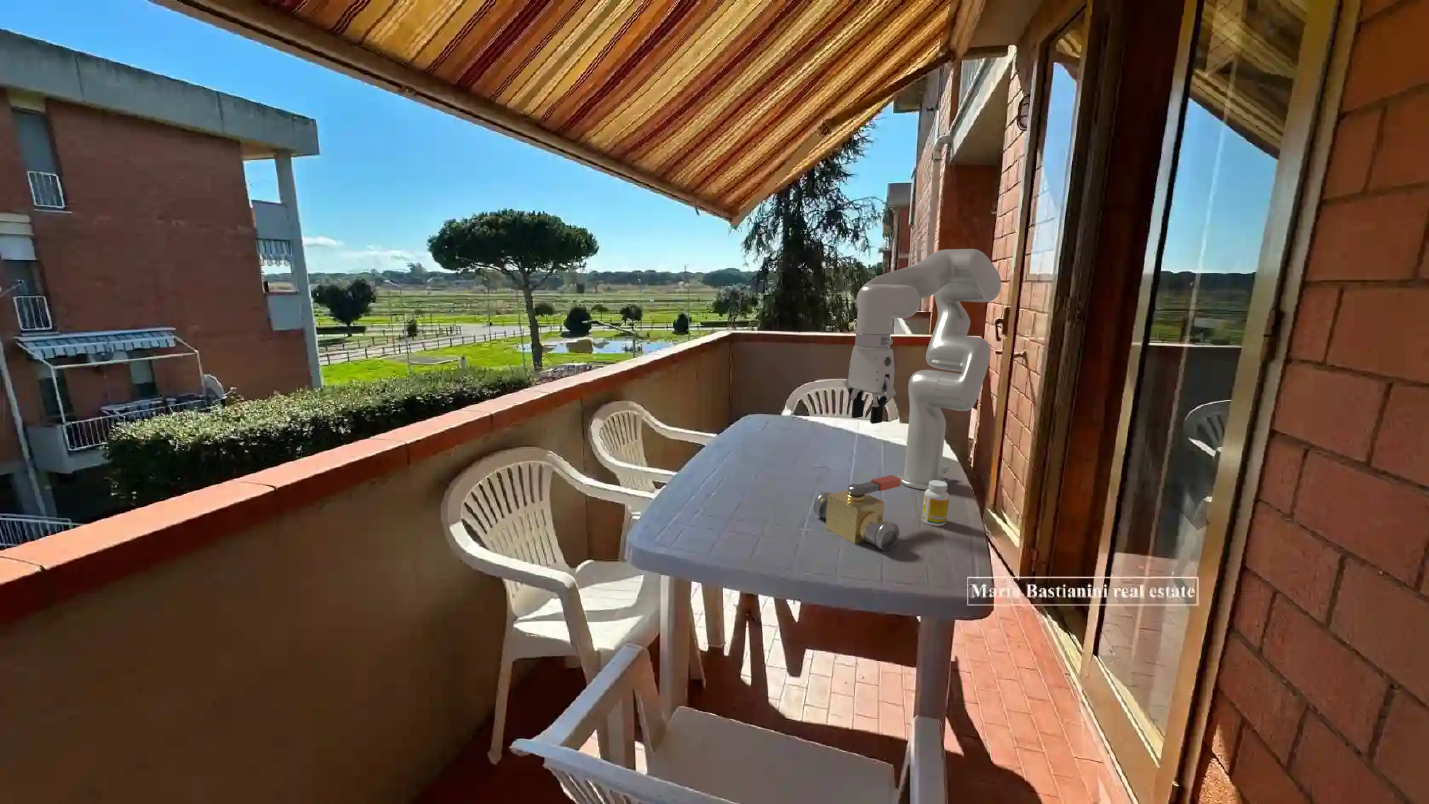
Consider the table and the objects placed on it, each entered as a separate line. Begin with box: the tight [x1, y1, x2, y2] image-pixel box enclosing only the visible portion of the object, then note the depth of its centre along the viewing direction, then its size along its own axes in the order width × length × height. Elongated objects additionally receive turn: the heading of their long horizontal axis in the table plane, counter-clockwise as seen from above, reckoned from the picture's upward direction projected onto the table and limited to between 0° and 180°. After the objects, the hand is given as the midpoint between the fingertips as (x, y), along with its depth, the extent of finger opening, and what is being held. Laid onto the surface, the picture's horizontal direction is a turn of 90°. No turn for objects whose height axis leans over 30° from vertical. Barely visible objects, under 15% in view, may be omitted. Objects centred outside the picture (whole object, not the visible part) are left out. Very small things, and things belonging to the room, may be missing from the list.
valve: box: [813, 489, 900, 552], centre depth 125 cm, size 20×8×9 cm, turn 31°
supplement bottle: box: [921, 480, 950, 527], centre depth 131 cm, size 5×5×10 cm
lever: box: [847, 474, 902, 497], centre depth 126 cm, size 14×4×2 cm, turn 121°
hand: (866, 419), depth 130 cm, fingers open, 5 cm apart
